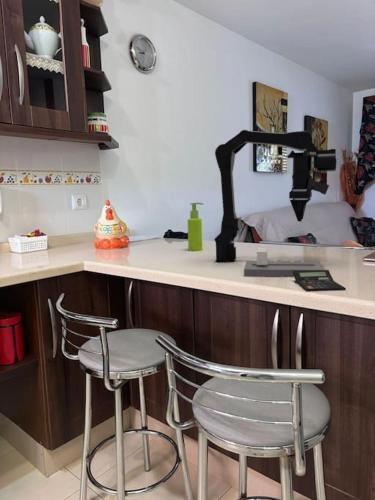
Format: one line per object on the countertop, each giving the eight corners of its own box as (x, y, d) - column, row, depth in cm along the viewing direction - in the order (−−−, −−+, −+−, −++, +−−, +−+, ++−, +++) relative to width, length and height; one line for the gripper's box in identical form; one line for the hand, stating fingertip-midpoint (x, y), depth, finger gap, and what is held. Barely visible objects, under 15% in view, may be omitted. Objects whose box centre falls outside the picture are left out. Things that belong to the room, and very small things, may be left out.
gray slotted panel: (244, 276, 109) (243, 268, 109) (246, 266, 123) (246, 260, 123) (324, 277, 105) (325, 269, 104) (318, 267, 118) (318, 260, 118)
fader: (256, 265, 112) (256, 251, 112) (257, 261, 118) (257, 248, 117) (267, 265, 112) (267, 251, 111) (267, 261, 117) (267, 248, 117)
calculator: (306, 292, 91) (306, 280, 91) (292, 281, 103) (292, 270, 102) (345, 291, 91) (345, 279, 91) (327, 280, 103) (327, 269, 102)
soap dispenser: (203, 251, 159) (202, 202, 156) (187, 251, 160) (185, 203, 157) (205, 249, 165) (204, 202, 162) (189, 249, 166) (188, 202, 163)
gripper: (328, 169, 112) (326, 222, 115) (327, 172, 130) (326, 218, 132) (289, 171, 116) (288, 222, 118) (293, 173, 133) (292, 218, 136)
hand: (300, 220), depth 126 cm, fingers open, 9 cm apart
